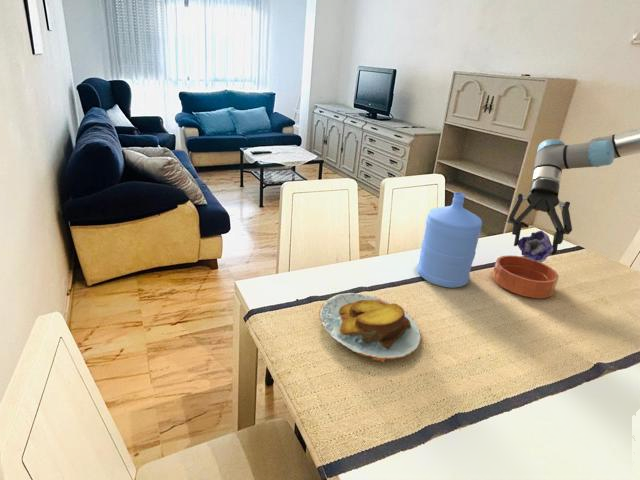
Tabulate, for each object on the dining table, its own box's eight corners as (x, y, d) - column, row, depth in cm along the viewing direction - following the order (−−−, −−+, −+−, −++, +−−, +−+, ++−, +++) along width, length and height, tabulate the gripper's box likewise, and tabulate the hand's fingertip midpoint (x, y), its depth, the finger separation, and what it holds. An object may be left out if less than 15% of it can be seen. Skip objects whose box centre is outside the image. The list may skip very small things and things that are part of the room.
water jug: (464, 294, 115) (486, 207, 105) (411, 278, 122) (426, 195, 112) (471, 273, 127) (491, 193, 117) (422, 259, 135) (437, 183, 125)
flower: (531, 227, 122) (534, 223, 114) (557, 245, 118) (563, 243, 110) (509, 248, 124) (512, 247, 115) (534, 267, 120) (538, 266, 112)
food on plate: (338, 291, 114) (340, 271, 111) (426, 318, 103) (430, 298, 101) (302, 341, 93) (304, 318, 90) (408, 382, 82) (413, 357, 80)
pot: (555, 283, 123) (560, 267, 121) (549, 306, 111) (555, 288, 109) (497, 266, 132) (502, 250, 130) (486, 285, 120) (491, 268, 118)
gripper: (582, 196, 120) (574, 262, 112) (504, 184, 129) (491, 244, 122) (591, 184, 114) (583, 253, 106) (508, 172, 123) (495, 234, 116)
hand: (534, 248), depth 114 cm, fingers closed on flower, 9 cm apart
